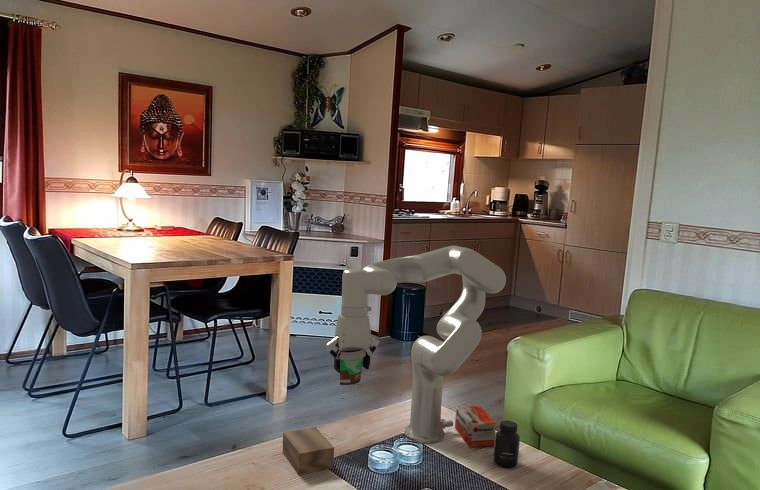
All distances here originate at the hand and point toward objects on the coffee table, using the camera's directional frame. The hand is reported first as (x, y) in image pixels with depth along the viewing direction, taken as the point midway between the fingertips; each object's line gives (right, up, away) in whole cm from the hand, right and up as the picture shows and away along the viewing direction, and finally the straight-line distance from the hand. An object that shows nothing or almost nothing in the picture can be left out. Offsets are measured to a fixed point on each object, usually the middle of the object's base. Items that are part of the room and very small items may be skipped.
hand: (352, 369), depth 167 cm
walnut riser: (-12, -24, -7) cm, 28 cm away
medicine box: (+38, -25, +13) cm, 47 cm away
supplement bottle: (+44, -27, -3) cm, 52 cm away
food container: (0, -4, +1) cm, 4 cm away
